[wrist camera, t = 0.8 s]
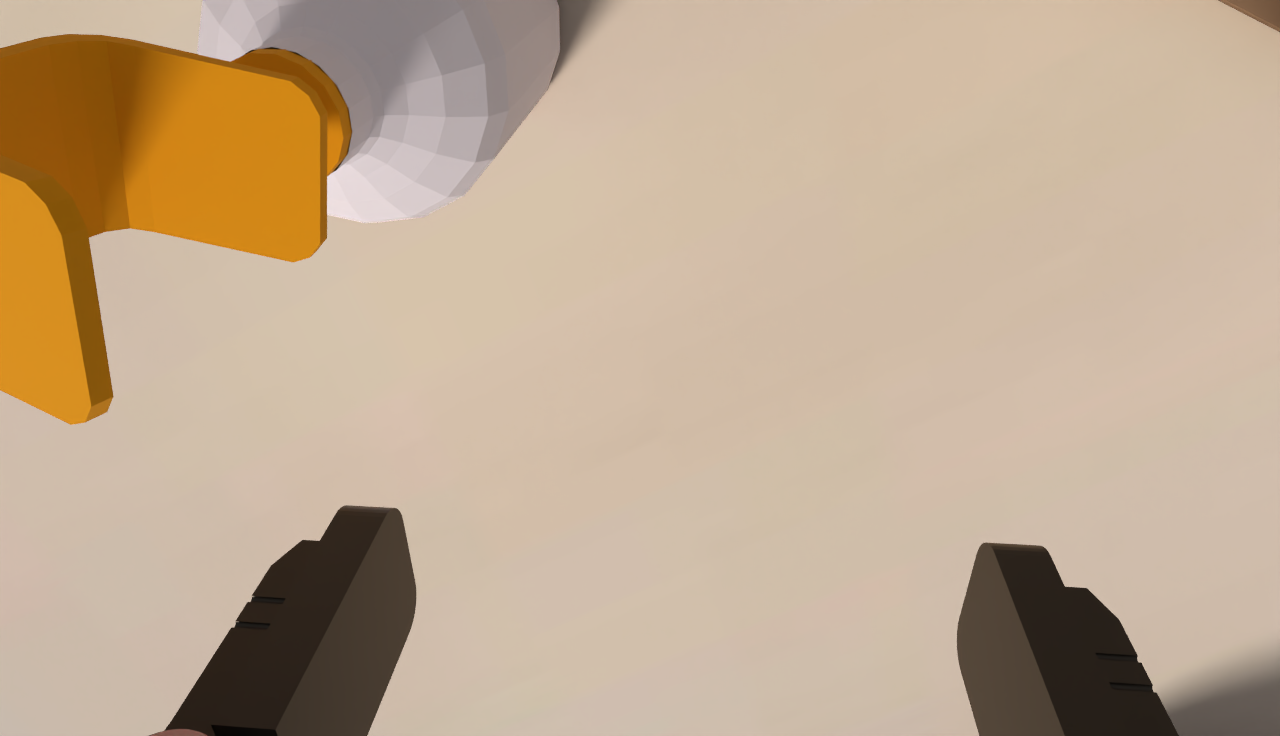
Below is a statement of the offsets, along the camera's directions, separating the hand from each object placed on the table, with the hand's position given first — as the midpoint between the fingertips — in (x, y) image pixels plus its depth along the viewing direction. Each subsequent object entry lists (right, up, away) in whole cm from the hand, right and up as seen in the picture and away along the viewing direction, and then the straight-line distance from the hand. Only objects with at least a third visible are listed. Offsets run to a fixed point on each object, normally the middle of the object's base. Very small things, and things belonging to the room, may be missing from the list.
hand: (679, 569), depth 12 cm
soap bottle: (-8, +17, +21) cm, 28 cm away
